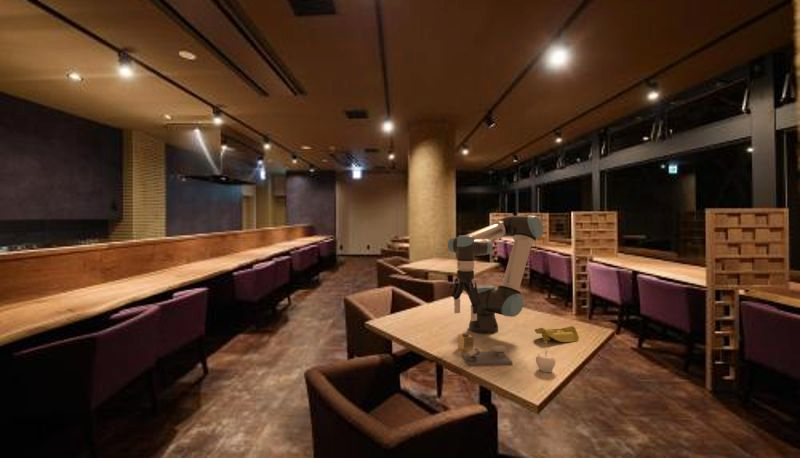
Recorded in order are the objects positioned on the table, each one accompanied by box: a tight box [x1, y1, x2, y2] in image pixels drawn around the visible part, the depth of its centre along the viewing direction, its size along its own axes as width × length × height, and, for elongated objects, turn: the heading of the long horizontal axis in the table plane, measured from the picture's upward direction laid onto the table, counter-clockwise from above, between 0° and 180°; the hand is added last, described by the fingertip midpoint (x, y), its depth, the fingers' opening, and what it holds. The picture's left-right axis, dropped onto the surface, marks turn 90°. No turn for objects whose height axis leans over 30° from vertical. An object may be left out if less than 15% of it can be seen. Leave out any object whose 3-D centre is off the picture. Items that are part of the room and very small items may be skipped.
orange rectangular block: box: [457, 332, 474, 352], centre depth 164 cm, size 5×5×7 cm
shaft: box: [466, 347, 481, 362], centre depth 150 cm, size 5×4×4 cm
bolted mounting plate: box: [461, 345, 513, 367], centre depth 153 cm, size 18×12×5 cm, turn 93°
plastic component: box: [534, 325, 580, 343], centre depth 177 cm, size 20×7×10 cm
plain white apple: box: [535, 349, 556, 373], centre depth 142 cm, size 7×7×8 cm
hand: (465, 316), depth 164 cm, fingers open, 13 cm apart
